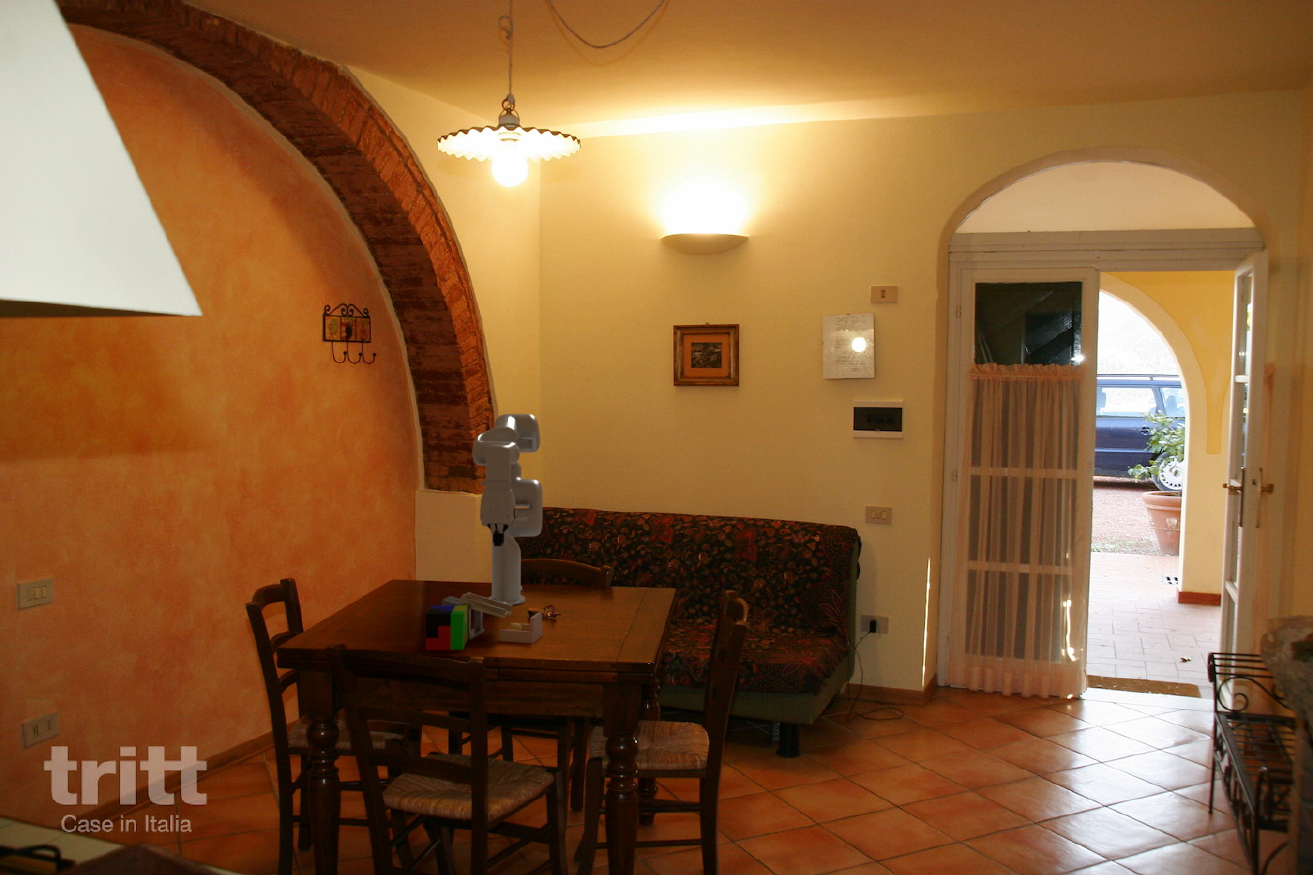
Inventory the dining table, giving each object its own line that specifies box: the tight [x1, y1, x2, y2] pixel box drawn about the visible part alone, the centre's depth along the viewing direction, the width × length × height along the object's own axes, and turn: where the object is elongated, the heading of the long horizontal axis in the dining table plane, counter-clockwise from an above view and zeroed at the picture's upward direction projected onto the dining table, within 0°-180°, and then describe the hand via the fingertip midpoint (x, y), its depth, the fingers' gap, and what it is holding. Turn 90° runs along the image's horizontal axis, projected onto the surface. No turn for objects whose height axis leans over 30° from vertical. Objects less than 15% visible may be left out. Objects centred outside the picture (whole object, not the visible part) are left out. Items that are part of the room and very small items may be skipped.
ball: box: [508, 622, 522, 631], centre depth 270 cm, size 4×4×4 cm
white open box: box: [499, 612, 544, 645], centre depth 269 cm, size 9×10×7 cm
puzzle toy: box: [425, 605, 468, 651], centre depth 262 cm, size 10×10×10 cm
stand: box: [463, 603, 486, 640], centre depth 273 cm, size 10×3×10 cm, turn 167°
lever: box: [441, 591, 514, 619], centre depth 275 cm, size 12×20×7 cm, turn 77°
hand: (498, 545), depth 284 cm, fingers closed
